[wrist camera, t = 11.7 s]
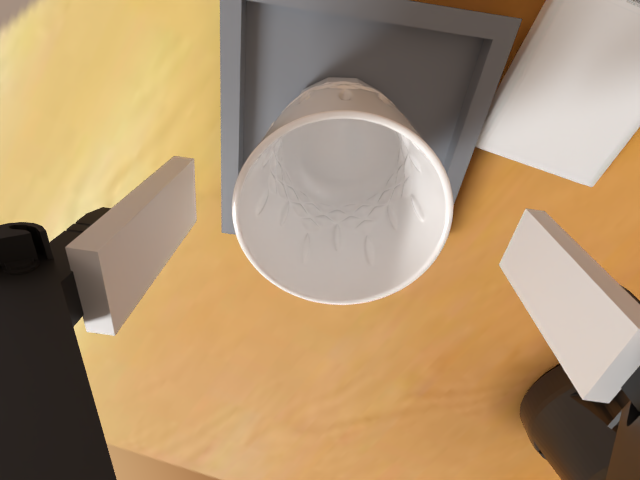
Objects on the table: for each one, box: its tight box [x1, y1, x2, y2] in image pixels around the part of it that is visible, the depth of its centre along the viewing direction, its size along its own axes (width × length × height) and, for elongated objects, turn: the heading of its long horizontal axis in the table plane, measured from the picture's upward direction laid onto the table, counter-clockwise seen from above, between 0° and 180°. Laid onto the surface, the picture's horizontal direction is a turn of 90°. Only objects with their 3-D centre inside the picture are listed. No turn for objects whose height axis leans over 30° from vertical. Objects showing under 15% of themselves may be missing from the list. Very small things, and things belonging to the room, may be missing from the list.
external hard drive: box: [475, 0, 640, 187], centre depth 20 cm, size 2×8×12 cm
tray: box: [220, 0, 522, 234], centre depth 22 cm, size 14×14×2 cm
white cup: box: [232, 77, 453, 305], centre depth 18 cm, size 8×8×10 cm
